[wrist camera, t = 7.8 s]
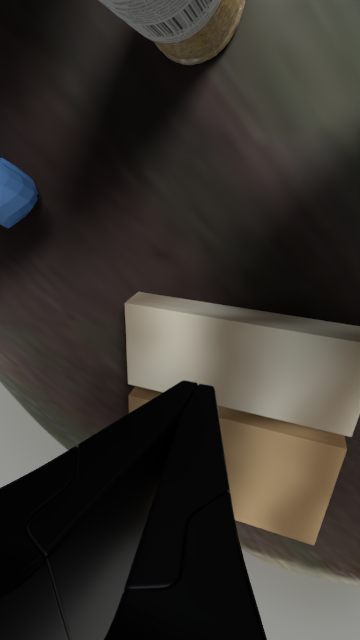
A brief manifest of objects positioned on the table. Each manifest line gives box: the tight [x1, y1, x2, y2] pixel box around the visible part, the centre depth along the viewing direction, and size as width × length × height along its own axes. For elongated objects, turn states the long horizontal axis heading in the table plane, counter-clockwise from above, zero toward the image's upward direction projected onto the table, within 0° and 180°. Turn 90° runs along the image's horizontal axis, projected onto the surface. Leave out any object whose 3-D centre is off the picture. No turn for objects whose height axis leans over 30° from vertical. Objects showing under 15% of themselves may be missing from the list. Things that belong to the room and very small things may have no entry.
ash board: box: [125, 292, 360, 437], centre depth 20 cm, size 14×6×2 cm, turn 88°
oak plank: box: [128, 386, 347, 545], centre depth 24 cm, size 14×9×2 cm, turn 88°
